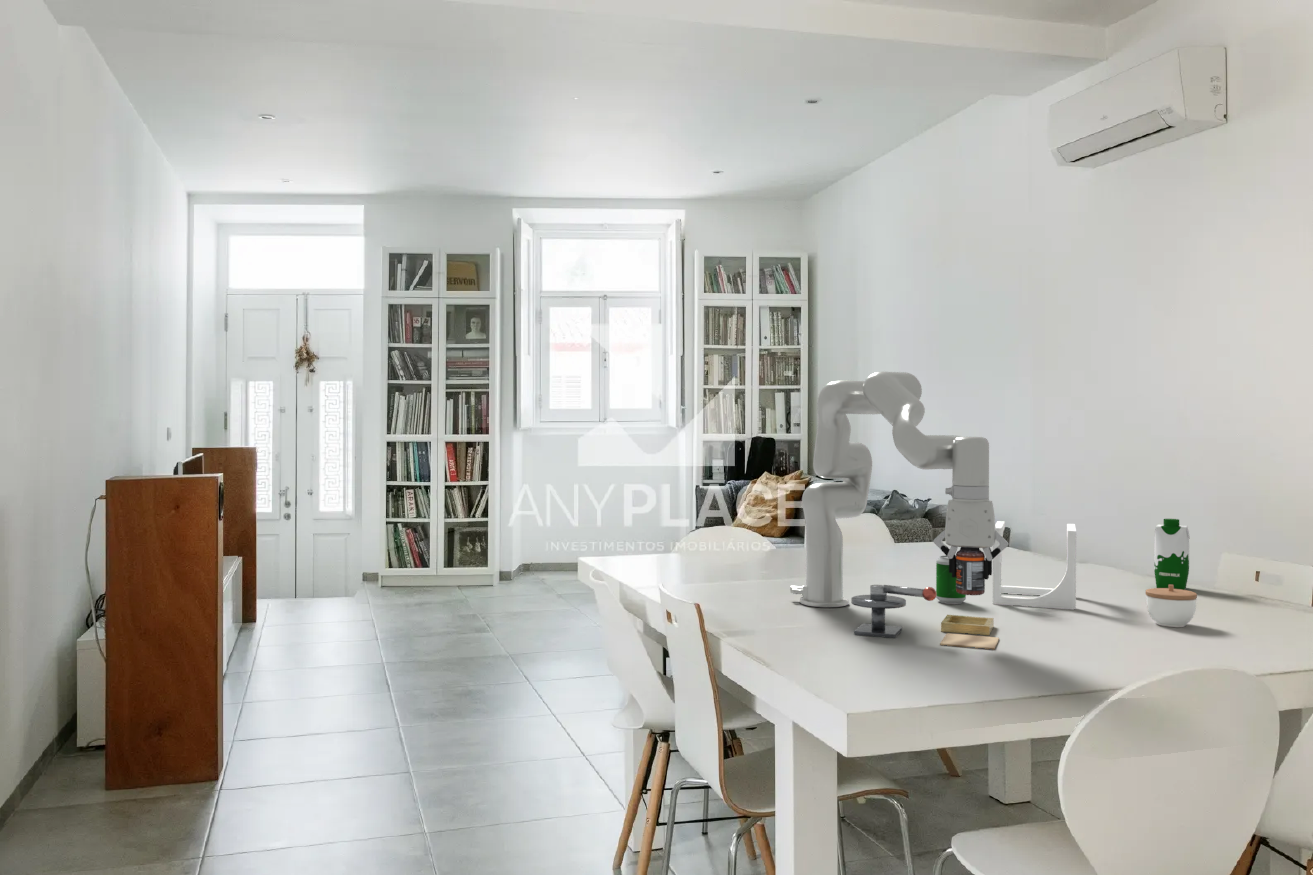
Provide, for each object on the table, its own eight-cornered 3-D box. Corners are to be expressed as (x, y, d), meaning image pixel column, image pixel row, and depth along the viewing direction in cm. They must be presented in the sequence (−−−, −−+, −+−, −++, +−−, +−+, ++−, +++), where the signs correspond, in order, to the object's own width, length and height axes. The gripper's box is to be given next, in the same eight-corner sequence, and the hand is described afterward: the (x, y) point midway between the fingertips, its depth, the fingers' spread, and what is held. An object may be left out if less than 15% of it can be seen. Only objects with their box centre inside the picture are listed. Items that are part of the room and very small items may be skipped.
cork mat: (939, 645, 209) (939, 643, 209) (946, 635, 219) (946, 633, 219) (994, 649, 205) (994, 648, 205) (998, 639, 215) (998, 637, 215)
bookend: (992, 604, 257) (993, 528, 257) (996, 592, 276) (997, 521, 276) (1075, 609, 250) (1076, 531, 250) (1074, 597, 268) (1074, 523, 268)
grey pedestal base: (854, 634, 220) (854, 607, 219) (862, 626, 228) (862, 601, 228) (894, 638, 216) (895, 610, 216) (902, 630, 224) (902, 604, 224)
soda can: (967, 605, 255) (967, 559, 255) (937, 604, 257) (937, 558, 257) (964, 600, 263) (964, 555, 263) (935, 599, 264) (935, 554, 264)
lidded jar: (1192, 621, 234) (1192, 582, 234) (1200, 630, 224) (1201, 589, 224) (1142, 618, 238) (1142, 580, 238) (1148, 627, 228) (1149, 587, 228)
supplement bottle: (951, 591, 214) (951, 539, 214) (977, 591, 215) (977, 539, 215) (962, 596, 209) (962, 542, 208) (989, 595, 209) (989, 542, 209)
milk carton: (1152, 589, 281) (1153, 519, 281) (1156, 584, 289) (1156, 516, 288) (1187, 591, 276) (1188, 520, 276) (1190, 587, 284) (1190, 518, 284)
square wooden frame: (941, 631, 223) (941, 622, 223) (947, 623, 232) (947, 614, 232) (989, 635, 219) (989, 626, 219) (993, 626, 228) (993, 618, 228)
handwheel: (841, 604, 221) (841, 582, 221) (866, 597, 230) (866, 575, 230) (924, 614, 209) (924, 591, 209) (946, 606, 218) (946, 584, 218)
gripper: (926, 494, 212) (926, 577, 212) (1011, 496, 205) (1011, 582, 205) (931, 491, 218) (931, 572, 219) (1014, 494, 211) (1014, 577, 212)
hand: (970, 576), depth 212 cm, fingers closed on supplement bottle, 6 cm apart
